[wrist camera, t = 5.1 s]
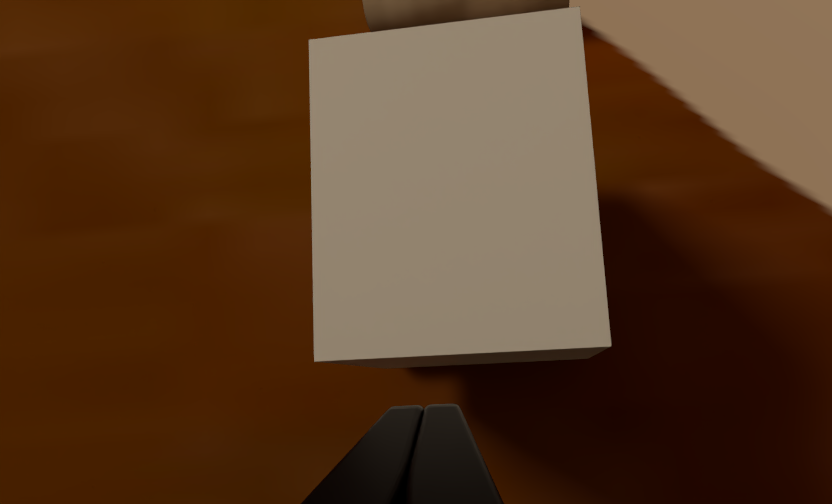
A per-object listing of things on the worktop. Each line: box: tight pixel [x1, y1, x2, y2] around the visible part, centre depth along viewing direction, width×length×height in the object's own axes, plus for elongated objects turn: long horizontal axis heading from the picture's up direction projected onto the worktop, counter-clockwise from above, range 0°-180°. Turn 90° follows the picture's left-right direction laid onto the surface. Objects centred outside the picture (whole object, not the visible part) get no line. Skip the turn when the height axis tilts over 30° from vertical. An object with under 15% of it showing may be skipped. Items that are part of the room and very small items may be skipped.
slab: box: [309, 7, 611, 369], centre depth 16 cm, size 6×5×6 cm
